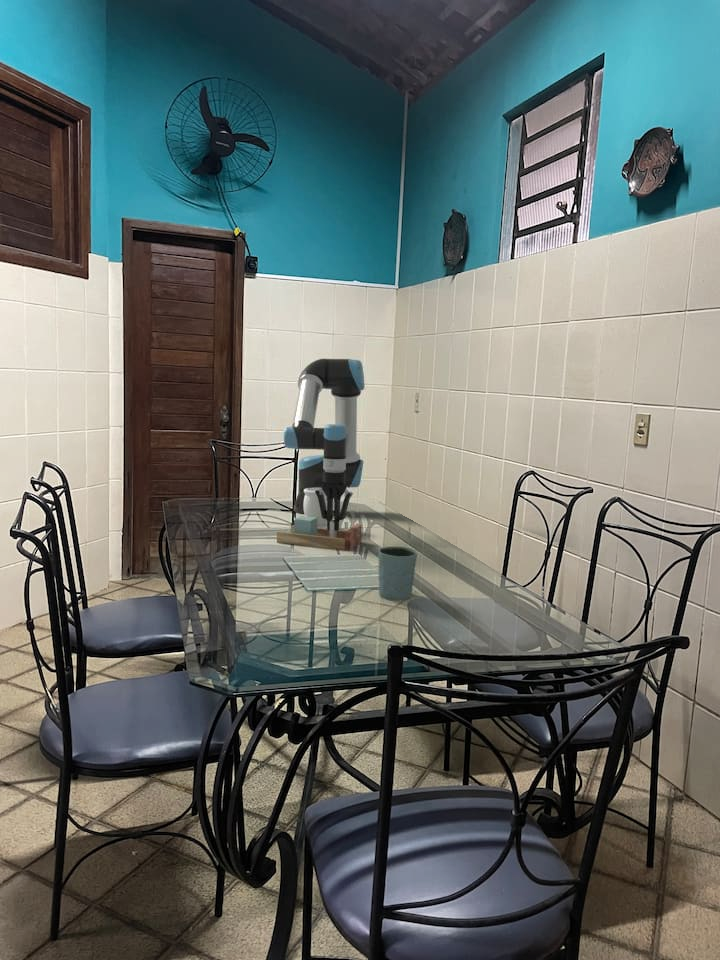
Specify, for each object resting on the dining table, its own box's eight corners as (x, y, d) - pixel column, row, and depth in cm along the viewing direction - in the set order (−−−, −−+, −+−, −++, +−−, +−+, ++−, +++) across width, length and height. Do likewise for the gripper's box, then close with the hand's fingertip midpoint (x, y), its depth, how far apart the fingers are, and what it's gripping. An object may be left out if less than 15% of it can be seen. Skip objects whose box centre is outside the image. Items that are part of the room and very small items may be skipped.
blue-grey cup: (377, 588, 187) (378, 545, 185) (414, 590, 187) (416, 546, 185) (376, 600, 177) (378, 555, 175) (416, 602, 177) (418, 556, 175)
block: (301, 538, 242) (301, 515, 241) (317, 540, 240) (317, 517, 239) (294, 542, 236) (294, 519, 235) (310, 543, 234) (310, 520, 233)
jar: (314, 533, 249) (315, 492, 246) (297, 528, 256) (298, 488, 254) (337, 530, 255) (338, 490, 253) (320, 525, 263) (320, 486, 261)
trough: (291, 534, 246) (292, 518, 245) (361, 542, 238) (361, 525, 237) (276, 542, 235) (276, 525, 234) (348, 550, 227) (349, 532, 226)
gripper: (312, 470, 230) (310, 540, 233) (348, 473, 226) (347, 544, 229) (320, 468, 237) (319, 535, 240) (356, 470, 233) (354, 539, 236)
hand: (332, 539), depth 235 cm, fingers closed
